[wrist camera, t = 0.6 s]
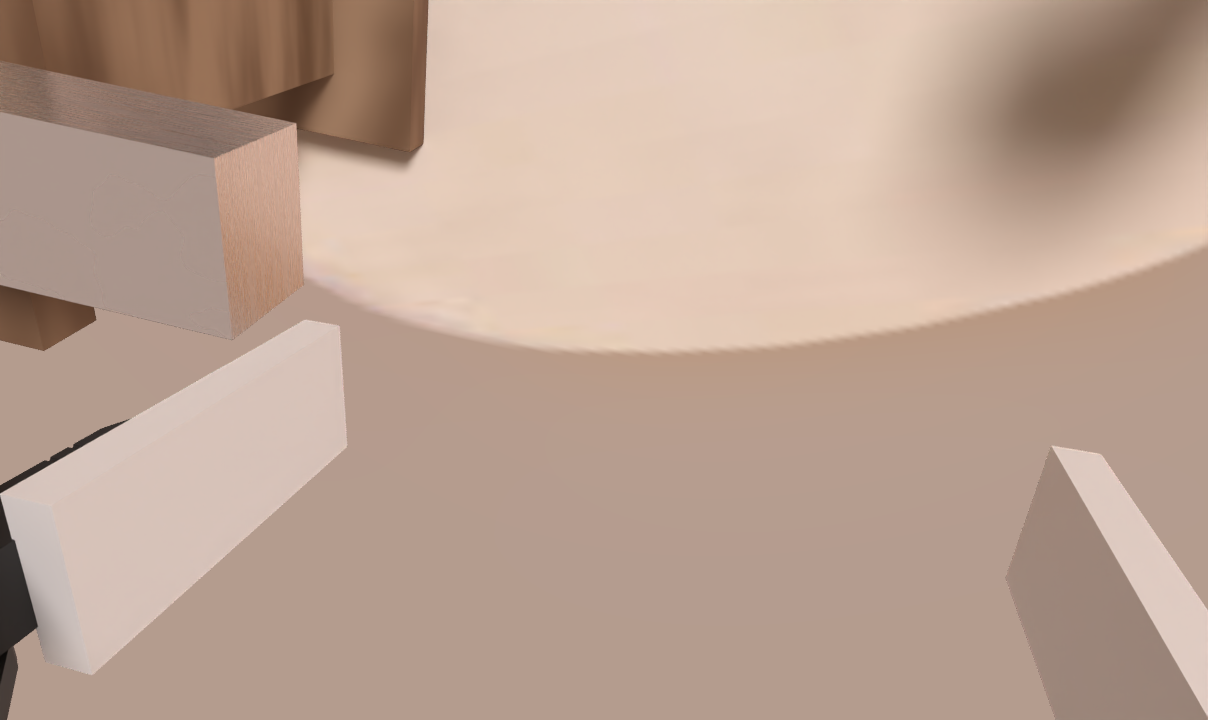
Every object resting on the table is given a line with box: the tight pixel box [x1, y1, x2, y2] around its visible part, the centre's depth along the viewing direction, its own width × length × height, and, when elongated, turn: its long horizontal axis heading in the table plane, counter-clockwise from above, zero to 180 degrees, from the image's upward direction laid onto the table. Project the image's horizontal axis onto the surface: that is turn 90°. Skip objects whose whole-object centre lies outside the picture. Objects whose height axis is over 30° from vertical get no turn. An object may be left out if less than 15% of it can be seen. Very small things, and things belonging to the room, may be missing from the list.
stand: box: [0, 0, 428, 351], centre depth 32 cm, size 14×14×28 cm
